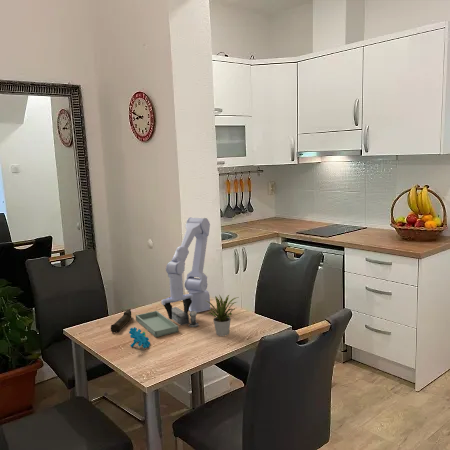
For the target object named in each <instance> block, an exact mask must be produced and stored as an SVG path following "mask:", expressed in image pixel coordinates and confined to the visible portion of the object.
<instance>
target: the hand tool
mask: <svg viewBox="0 0 450 450" xmlns="http://www.w3.org/2000/svg"><path fill="white" fill-rule="evenodd" d="M131 320H132V310H131V309H130V308H129V309H126V310H125V311H124V312H123V315H122V316H121V317H119V319H118V320H116V321H115V322H114V324H111V325H110V331H111V332H112V333H113V332H115V333H116V334H117V333H119V332H121V329H122V328H123V327H124V326H125V325H126V324H127V323H130V322H131ZM115 333H114V334H115Z"/></svg>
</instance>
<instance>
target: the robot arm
mask: <svg viewBox="0 0 450 450" xmlns="http://www.w3.org/2000/svg"><path fill="white" fill-rule="evenodd" d="M184 227H185V232H184V236H183V239H182V241H181V245H180V246H177V247H176V249H175V252H174V254H173V256H172V258H171V260H170V261H169V262H167V264H166V266H165V272H166V273H167V277H168V278H169V291H170V297H167V298H163V299H160V300H161V301H160V302H161V305H163V307H164V308H165V311H166V313H167V315H168V319H169V320H172V308H173V305H171V303H177V302H182V303H183V311H184V312H185V313H187V314H188V315H189V312H191V311H193V310H194V311H196V313H197V314H198V313H201V312H207V311H209V310H210V309H212V308H211V304H210V303H211V296H210V292H209V290H207V289H208V276H207V275H206V274H205V273H204V267H205V266H204V265H205V259H206V258H205V257H206V250H207V244H208V237H209V235H210V228H211V224H210V221H209V219H208V217H207V218H206V217H188V218H187V220H186V222H185V226H184ZM194 238H195V244H194V252H193V259H192V267H191V271H190V272H188V273H187V275H186V279H185V280H184V282H183V273H184V271H185V268H186V267H185V266H186V260H187V258H188V255H189V254H190V251H189V248H190V245H191V244H192V242H193V240H194ZM183 283H184V285H183ZM184 288H185V290H187V294H186V293H185V294H184ZM207 301H208V302H210V303H208V302H207ZM209 308H210V309H209ZM210 311H211V310H210Z"/></svg>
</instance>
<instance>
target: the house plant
mask: <svg viewBox="0 0 450 450" xmlns="http://www.w3.org/2000/svg"><path fill="white" fill-rule="evenodd" d="M229 296H230V294H228V295H227V296H226V297H225V300H223V298H222V296H221V295H220V294H219V296H216V295H215V297H214V299H215V301H216V306H215V305H213V304H212V303H211V301H210V302H208V301H207V302H208V303H210V306H212V308H213V309H212V308H211V307H210V308H211V309H210V308H209V309H210V312H208V314H209V315H212V316H213V317H214V318H213V324H214V329H215V334H216V335H217V336H218V337H225V335H226V336H228V335H229V334H230V326H231V317H230V316H232V314H233V313H232V312H233V311H234V310H235V309H236V307H234V308H231V307H232V306H233V305H234V304H236V303H237V301H234V300H236V299H238V298H239V296H238V297H234V298H232V299H231V300H229ZM228 301H229V302H228ZM233 301H234V302H233ZM215 307H216V308H215ZM228 312H229V313H228Z"/></svg>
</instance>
